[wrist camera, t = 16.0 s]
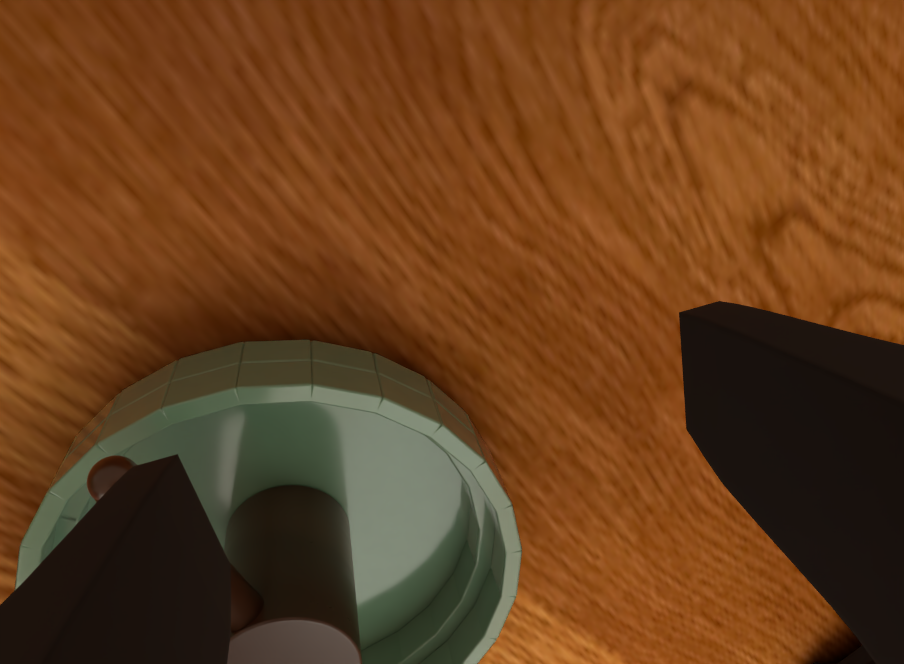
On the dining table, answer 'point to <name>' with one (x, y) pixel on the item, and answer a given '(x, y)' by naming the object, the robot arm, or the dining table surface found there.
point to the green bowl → (326, 480)
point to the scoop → (281, 574)
